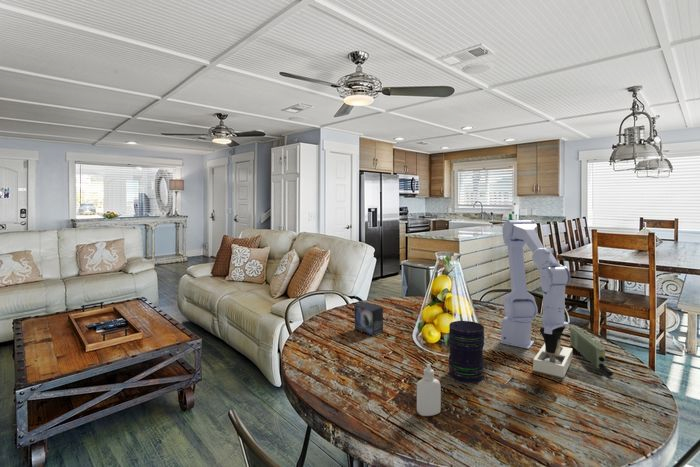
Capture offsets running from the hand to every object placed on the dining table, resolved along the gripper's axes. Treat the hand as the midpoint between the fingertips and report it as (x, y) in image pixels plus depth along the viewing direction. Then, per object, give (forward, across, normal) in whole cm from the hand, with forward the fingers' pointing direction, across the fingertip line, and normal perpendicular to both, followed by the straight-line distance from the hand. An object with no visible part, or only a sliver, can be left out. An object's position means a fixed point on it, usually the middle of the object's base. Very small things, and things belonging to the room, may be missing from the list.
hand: (552, 350), depth 114 cm
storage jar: (+6, -20, +19) cm, 28 cm away
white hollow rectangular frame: (+6, +3, 0) cm, 6 cm away
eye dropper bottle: (+6, -44, +19) cm, 48 cm away
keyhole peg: (+4, 0, 0) cm, 5 cm away
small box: (+6, -6, +64) cm, 65 cm away
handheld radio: (+6, +14, -8) cm, 18 cm away
